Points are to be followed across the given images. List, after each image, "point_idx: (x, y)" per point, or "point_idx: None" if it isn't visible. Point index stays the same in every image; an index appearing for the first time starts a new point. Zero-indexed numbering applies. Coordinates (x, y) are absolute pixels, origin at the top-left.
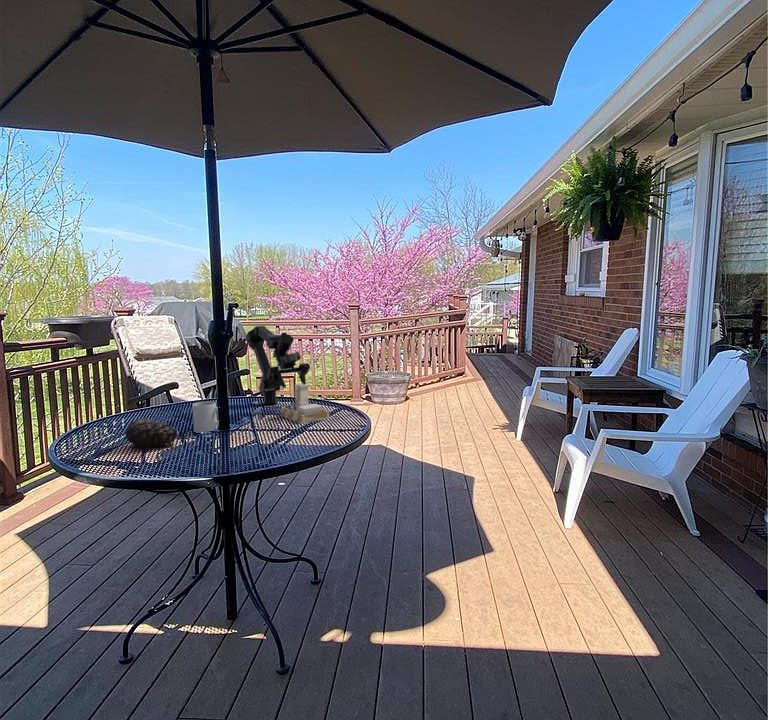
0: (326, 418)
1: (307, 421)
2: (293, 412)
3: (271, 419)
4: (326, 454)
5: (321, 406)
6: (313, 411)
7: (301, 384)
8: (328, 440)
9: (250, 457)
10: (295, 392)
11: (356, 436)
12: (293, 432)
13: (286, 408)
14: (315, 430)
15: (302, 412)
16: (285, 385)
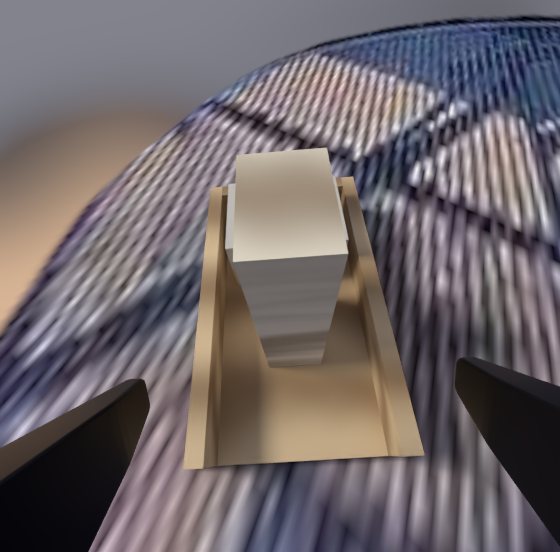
0: None
1: None
2: (373, 257)
3: None
4: (372, 33)
5: (233, 184)
6: None
7: (275, 212)
8: (332, 80)
9: (545, 64)
10: (335, 297)
11: (257, 77)
12: (403, 162)
13: (393, 372)
14: (327, 149)
15: None
16: (475, 365)
